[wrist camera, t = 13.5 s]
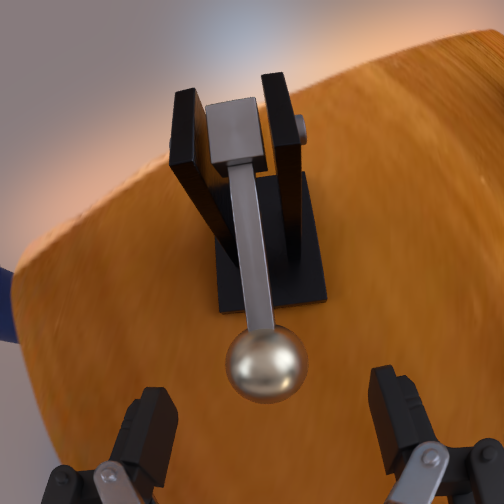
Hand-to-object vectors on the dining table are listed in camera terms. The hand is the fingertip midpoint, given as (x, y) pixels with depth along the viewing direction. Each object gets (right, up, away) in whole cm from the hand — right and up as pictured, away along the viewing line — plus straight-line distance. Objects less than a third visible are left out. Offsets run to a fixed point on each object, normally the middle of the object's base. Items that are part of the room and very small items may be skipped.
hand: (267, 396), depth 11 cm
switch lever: (0, +5, +4) cm, 7 cm away
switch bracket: (+1, +6, +15) cm, 16 cm away
